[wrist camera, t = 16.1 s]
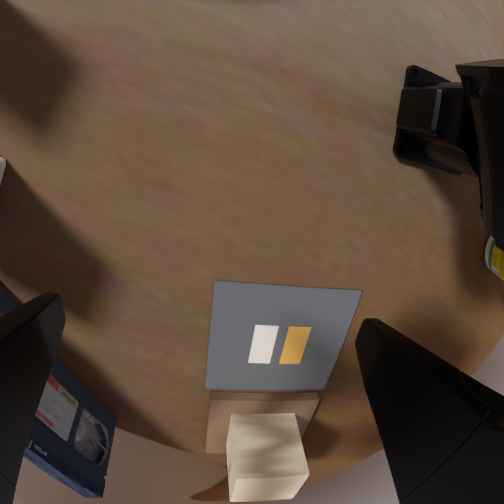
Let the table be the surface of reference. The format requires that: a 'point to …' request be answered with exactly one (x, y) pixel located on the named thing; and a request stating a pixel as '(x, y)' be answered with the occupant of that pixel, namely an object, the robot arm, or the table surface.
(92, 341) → the table surface
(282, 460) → the maple block
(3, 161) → the skincare box
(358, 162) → the table surface
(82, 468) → the vhs cassette tape
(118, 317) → the table surface
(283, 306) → the gray tile
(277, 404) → the walnut pad
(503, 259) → the supplement bottle
